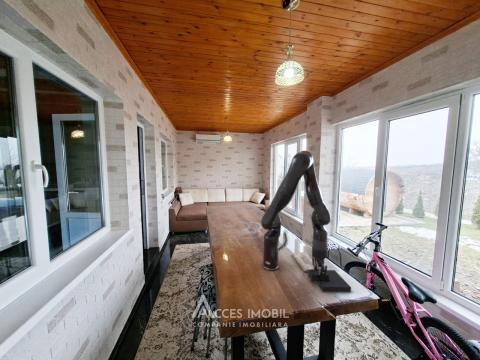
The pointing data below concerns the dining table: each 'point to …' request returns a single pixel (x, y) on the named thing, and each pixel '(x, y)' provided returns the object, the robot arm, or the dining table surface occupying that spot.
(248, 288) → the dining table surface
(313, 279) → the black pad
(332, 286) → the notched mat
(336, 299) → the dining table surface
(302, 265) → the newspaper
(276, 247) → the robot arm
